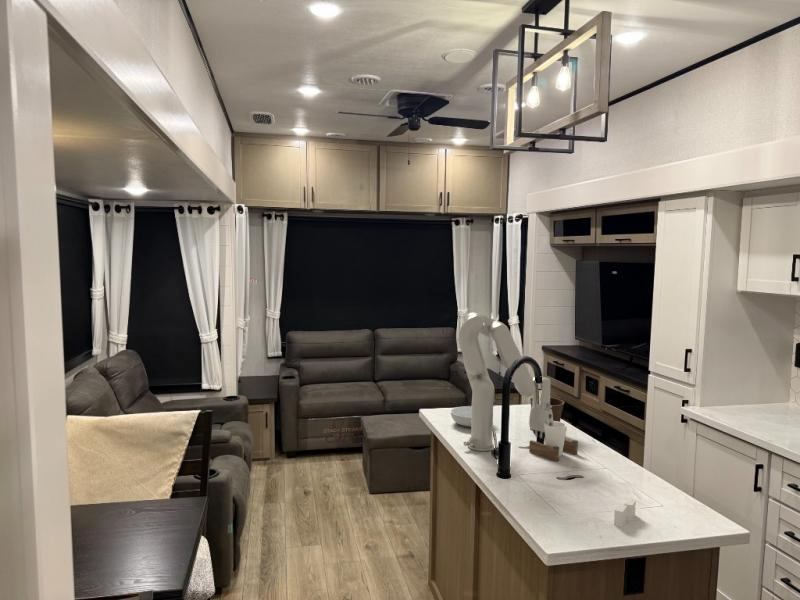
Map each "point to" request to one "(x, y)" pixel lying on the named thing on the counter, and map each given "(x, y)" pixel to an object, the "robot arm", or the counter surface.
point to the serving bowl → (462, 415)
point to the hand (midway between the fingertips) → (540, 445)
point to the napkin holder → (624, 512)
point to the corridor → (552, 449)
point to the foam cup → (555, 435)
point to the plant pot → (554, 408)
